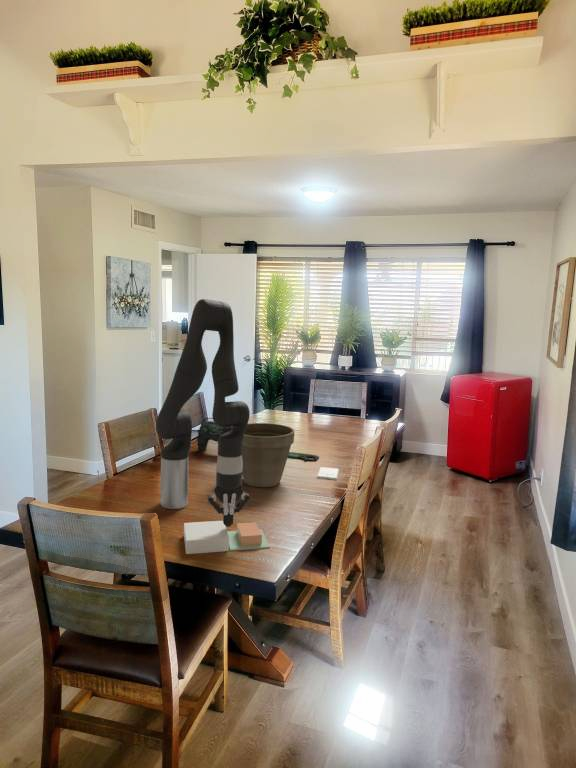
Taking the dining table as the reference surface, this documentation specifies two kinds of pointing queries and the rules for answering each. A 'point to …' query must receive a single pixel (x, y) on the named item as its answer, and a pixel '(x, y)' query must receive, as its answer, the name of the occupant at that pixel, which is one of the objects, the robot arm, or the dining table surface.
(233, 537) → the green mat
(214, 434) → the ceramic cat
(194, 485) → the dining table surface
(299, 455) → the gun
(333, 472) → the external hard drive
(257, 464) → the plant pot
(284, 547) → the dining table surface
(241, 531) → the terracotta tile
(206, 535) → the block
